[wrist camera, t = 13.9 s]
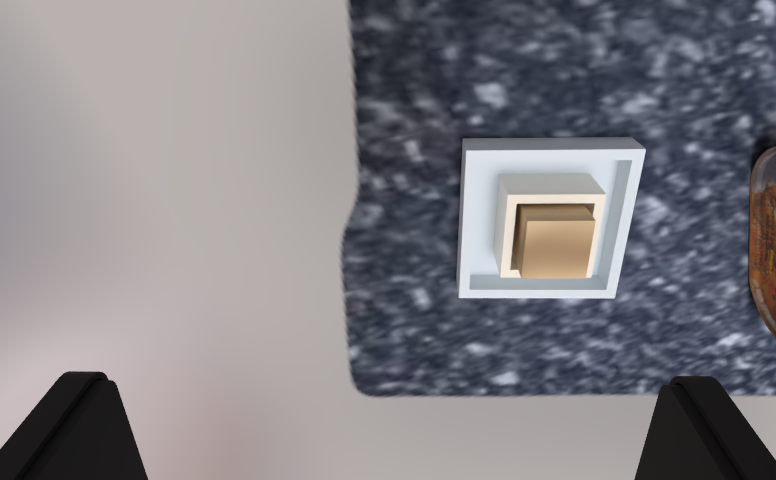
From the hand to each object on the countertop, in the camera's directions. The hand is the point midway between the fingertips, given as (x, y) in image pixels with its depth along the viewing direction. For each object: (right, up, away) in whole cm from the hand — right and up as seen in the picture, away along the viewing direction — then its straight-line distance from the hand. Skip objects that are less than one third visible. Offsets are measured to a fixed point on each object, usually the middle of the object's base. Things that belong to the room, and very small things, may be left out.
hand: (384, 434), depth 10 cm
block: (+11, +5, +28) cm, 30 cm away
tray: (+11, +5, +29) cm, 31 cm away
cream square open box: (+11, +5, +28) cm, 31 cm away
